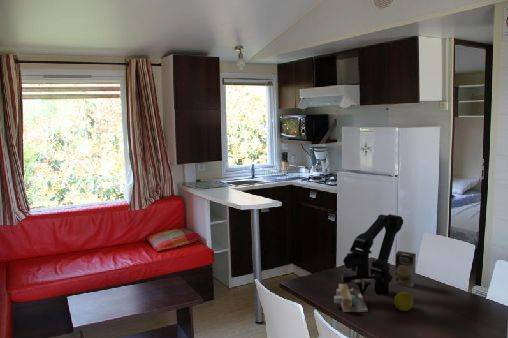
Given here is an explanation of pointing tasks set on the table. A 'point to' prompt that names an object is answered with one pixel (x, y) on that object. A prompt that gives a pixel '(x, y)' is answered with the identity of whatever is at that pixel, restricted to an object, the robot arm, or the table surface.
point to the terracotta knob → (352, 291)
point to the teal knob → (339, 299)
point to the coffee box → (405, 268)
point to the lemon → (403, 301)
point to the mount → (347, 301)
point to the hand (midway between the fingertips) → (362, 295)
